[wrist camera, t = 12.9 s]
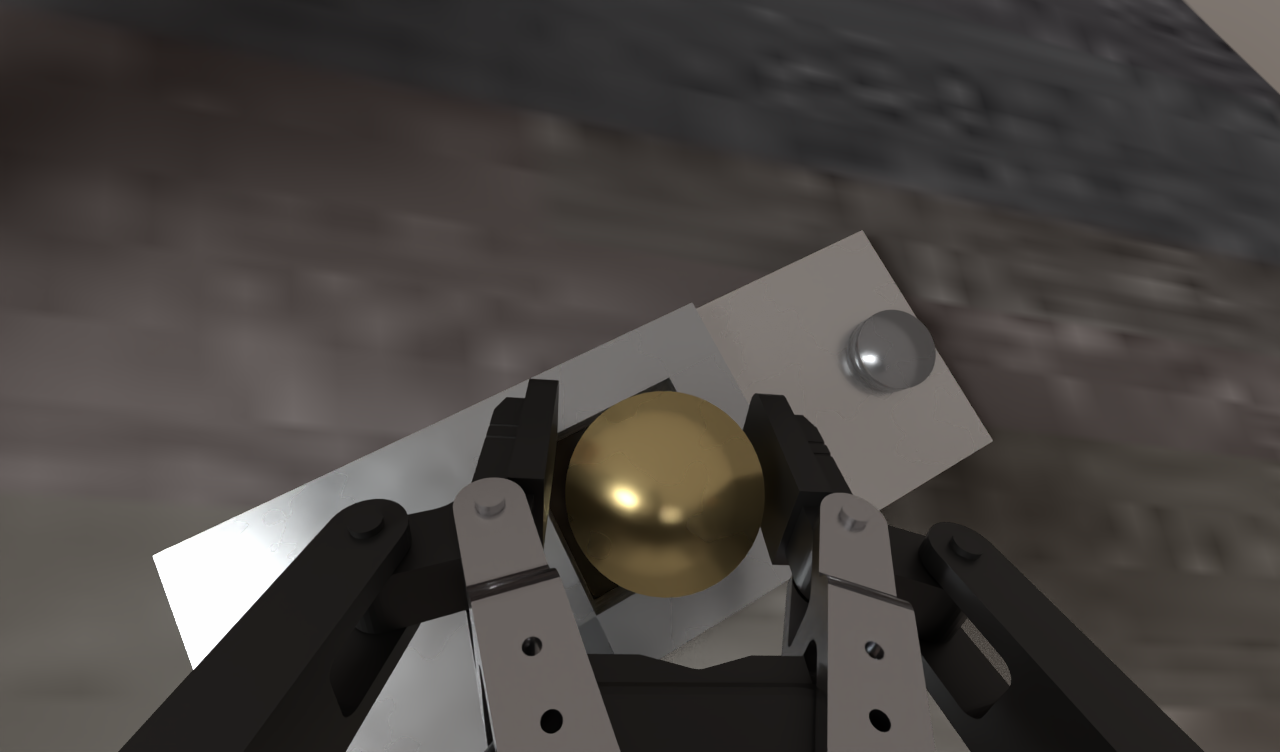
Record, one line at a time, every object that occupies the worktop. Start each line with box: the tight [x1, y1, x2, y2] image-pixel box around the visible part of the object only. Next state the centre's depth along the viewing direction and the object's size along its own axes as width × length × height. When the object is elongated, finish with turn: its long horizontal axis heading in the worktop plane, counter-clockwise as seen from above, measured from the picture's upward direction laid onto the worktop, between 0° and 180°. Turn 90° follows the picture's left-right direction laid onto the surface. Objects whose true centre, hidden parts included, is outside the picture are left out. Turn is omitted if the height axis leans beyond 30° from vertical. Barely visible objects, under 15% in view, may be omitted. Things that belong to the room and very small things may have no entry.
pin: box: [565, 391, 765, 598], centre depth 15 cm, size 4×4×9 cm
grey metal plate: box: [153, 230, 993, 752], centre depth 18 cm, size 26×10×3 cm, turn 118°
